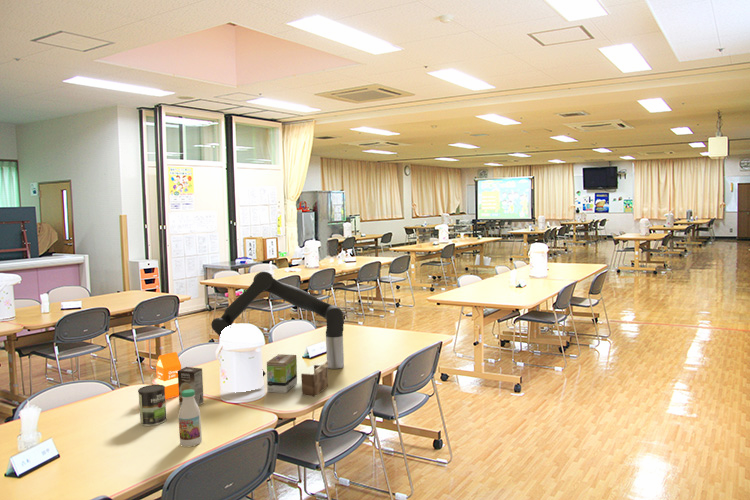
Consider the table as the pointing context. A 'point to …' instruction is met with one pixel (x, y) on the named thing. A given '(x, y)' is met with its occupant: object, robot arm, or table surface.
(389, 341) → the table surface
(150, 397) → the coffee can
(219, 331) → the robot arm
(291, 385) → the tea box
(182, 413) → the milk bottle
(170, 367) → the orange juice
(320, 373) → the display stand
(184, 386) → the coffee box
